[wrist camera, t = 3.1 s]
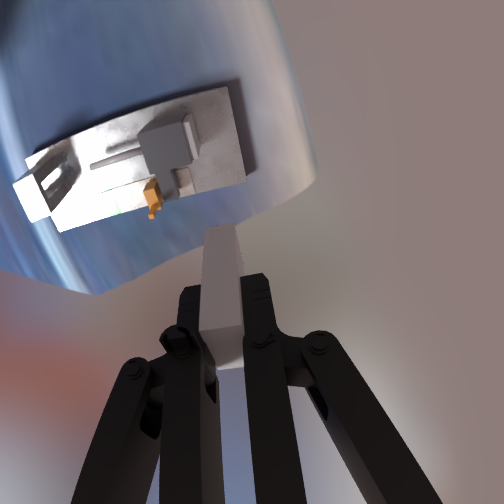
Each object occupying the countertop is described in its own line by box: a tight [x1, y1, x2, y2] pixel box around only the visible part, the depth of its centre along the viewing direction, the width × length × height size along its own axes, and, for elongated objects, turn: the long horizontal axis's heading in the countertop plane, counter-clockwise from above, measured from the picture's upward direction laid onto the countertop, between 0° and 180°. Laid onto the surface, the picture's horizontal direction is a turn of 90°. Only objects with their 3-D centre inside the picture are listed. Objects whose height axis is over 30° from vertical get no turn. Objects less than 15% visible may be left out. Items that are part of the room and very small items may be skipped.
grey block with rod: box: [89, 113, 201, 202], centre depth 34 cm, size 14×10×5 cm
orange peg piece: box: [143, 180, 164, 219], centre depth 36 cm, size 2×3×5 cm, turn 10°
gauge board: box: [13, 85, 247, 232], centre depth 34 cm, size 30×13×8 cm, turn 100°
